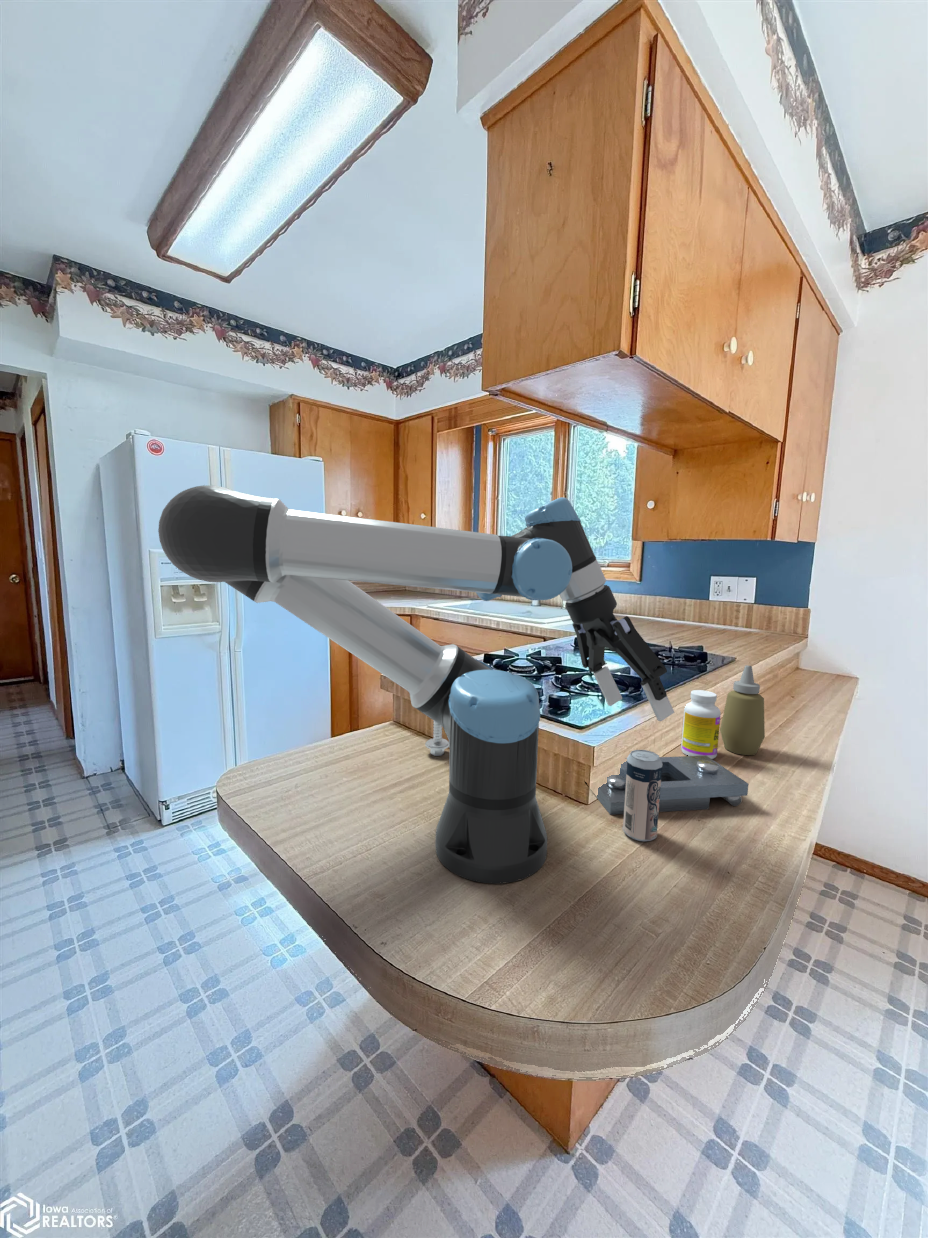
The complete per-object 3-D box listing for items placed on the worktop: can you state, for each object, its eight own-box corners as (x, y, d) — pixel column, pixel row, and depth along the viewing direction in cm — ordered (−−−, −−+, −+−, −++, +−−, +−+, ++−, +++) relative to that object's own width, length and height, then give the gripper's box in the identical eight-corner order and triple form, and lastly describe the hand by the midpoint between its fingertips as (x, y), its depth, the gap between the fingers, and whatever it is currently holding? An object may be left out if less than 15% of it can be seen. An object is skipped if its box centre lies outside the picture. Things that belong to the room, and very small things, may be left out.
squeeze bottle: (751, 744, 105) (759, 662, 102) (770, 759, 97) (780, 671, 94) (712, 742, 105) (719, 661, 103) (728, 757, 98) (736, 670, 95)
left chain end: (610, 814, 75) (611, 796, 75) (583, 781, 86) (584, 765, 86) (708, 809, 77) (710, 791, 77) (671, 777, 88) (672, 762, 88)
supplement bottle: (717, 763, 94) (723, 699, 93) (680, 757, 97) (685, 695, 96) (716, 751, 100) (721, 691, 99) (681, 745, 103) (685, 686, 102)
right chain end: (643, 812, 76) (645, 782, 75) (613, 780, 87) (615, 753, 86) (746, 807, 78) (749, 777, 77) (704, 776, 89) (706, 750, 88)
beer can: (657, 847, 67) (663, 764, 65) (621, 839, 69) (626, 759, 67) (656, 829, 71) (662, 751, 70) (622, 822, 73) (627, 746, 71)
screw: (435, 760, 94) (420, 752, 97) (454, 754, 97) (439, 746, 100) (435, 695, 92) (420, 689, 96) (455, 691, 95) (440, 685, 99)
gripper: (653, 575, 66) (712, 710, 69) (567, 587, 90) (614, 687, 93) (610, 600, 64) (672, 738, 67) (534, 606, 88) (582, 707, 91)
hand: (638, 708), depth 80 cm, fingers open, 13 cm apart
